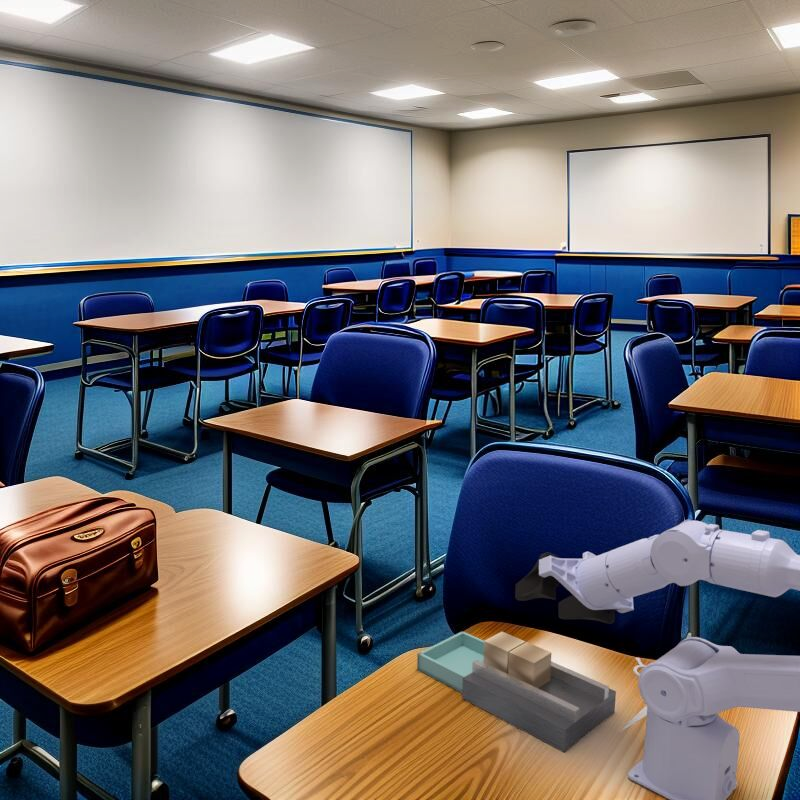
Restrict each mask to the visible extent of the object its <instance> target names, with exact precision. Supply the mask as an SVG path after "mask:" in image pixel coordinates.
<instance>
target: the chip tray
mask: <svg viewBox="0 0 800 800" xmlns="http://www.w3.org/2000/svg"><path fill="white" fill-rule="evenodd" d="M484 641H485V640H484V639H481V638H479V637H476V636H475V635H472V634H470V633H467V632H466V631H460V632H458V633H456V634H454V635H451V636H450V637H448V638H446V639H444V640H442V641H440V642H438V643H436V644H434V645H432V646H430V647H428V648H425V649H424V650H422V651H420V652H417V662H416V663H417V664H416V666H417V667H416V669H417V671H419V672H421V673H423V674H425V675H426V676H429V677H430V678H432V679H434V680H436V681H439V682H440V683H442V684H444V685H446V686H447V687H450V688H452V689H453V690H456V691H457V692H459V693H461V694H462V685H463V677H465V676H467V675H469V674H470V673H472V664H473V662H474V661H476V660H479V661H481V662H483V658H484Z"/></svg>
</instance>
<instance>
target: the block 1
mask: <svg viewBox="0 0 800 800" xmlns="http://www.w3.org/2000/svg"><path fill="white" fill-rule="evenodd" d="M483 641H484V658H483V663H485V664H487V665H490V666H492V667H494V668H496V669H498V670H500V671H502V672H504V673H506V674H508V664H509V652H510V651H512V650H513V649H515V648H517V647H519V646H520V645H522V644H524V643H526V641H525V640H523V639H521V638H518V637H516V636H513V635H511V634H509V633H508V632H507V633H506V632H504V631H500V632H498V633H496V634H494V635H493V636H491V637H489V638H486V639H485V640H483Z"/></svg>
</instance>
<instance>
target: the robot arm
mask: <svg viewBox="0 0 800 800" xmlns="http://www.w3.org/2000/svg"><path fill="white" fill-rule="evenodd" d="M701 580H702V581H706V582H707V583H710V584H714V585H718V586H723V587H726V588H731V589H736V590H740V591H745V592H750V593H754V594H758V595H763V596H768V597H772V598H777V597H780V596H781V595H783V594H784V593H786V592H787V591H789V590H791V589H792V590H794V591H795V590H796V591H800V554H797V553H796V552H795V551H794V550H793V549H792V548H791V546H789V544H788V543H787V542H786V541H785V540H783V539H778V538H774V537H773V538H772V537H771V535H770V532H769V530H761V529H757V530H755V531H753V532H751V534H749V533H744V532H743V533H742V532H738V531H731V530H725V529H720V525H719V524H713V523H709V524H708V523H706V522H704V521H699V520H693V519H692V520H690V519H685V520H683V521H682V522H681V523H679V524H678V525H675V526H674V527H671V528H669V529H667V530H665V531H663V532H662V533H660V534H654V535H652V536H649V537H648V538H647V537H645V538H641V539H638V540H635V541H633V542H630V543H628V544H625V545H622V546H619V547H616V548H614V549H611V550H609V551H607V552H603V553H601V554H598V555H596V554H594V553H593V552H590V551H585V552H583V553H582V558H566V557H565V558H561V557H559V555H556V554H554V553H552V552H549V551H546V552H544V553H542V554H540V555H539V557H538V560H537V561H536V563H535V565H534V566H533V567H532V569H531V570H530V571H529V572H528V573H527V574H526V575H525V576H524V577H523V578H521V580H519V581H518V582H516V584H515V588H514V589H515V591H514V594H515V595H514V597H515V600H517V601H521V602H523V601H530V600H535V599H551V600H553V601H554V600H555V601H557V587H559V586H560V584H561V585H562V586H563V587H564V588H565V589H566V590H567V591H569V592H570V594H572V595H569V596H568V597H565V598H563V599H562V600H560V601H559V602H558V610H557V611H558V618H559V619H561V620H589V621H596V622H601V623H605V624H608V625H611V624H613V623H615V620H616V612H618V613H620V614H625V613H628V612H632V611H634V610H635V608H634V597H638V596H640V595H644V594H648V593H651V592H654V591H657V590H660V589H663V588H665V587H666V586H668V585H670V584H676V585H677V586H680V587H686V586H690V585H692V584H694V583H696V582H698V581H701ZM645 665H646V666H645V667H644V668H641V671H640V673H639V674H640V675H639V677H638V680H637V681H638V684H637V685H638V690H639V694H640V696H641V698H642V700H643V702H644V704H645V705H646V706H647V715H646V716H645V717H646V721H645V730H644V731H645V733H644V744H643V745H644V746H643V747H644V748H643V758H642V759H641V760H640V761H638V762H637V764H635V765H634V766H633V767H632V768H631V769H630V770H629V771H628V772H627V777H628V779H629V780H632V781H633V782H635V783H637V784H639V785H641V786H643V787H645V788H647V789H649V790H651V791H653V792H654V793H656V794H659V795H660V796H662V797H664V798H666V799H668V800H727V799H728V798H729V796H731V794H732V793H733V792H734V791H733V790H736V788H737V787H738V784H739V783H738V781H737V772H738V761H739V760H738V759H739V751H740V740H741V739H740V737H741V736H740V731H739V729H738V728H737V727H736V726H734V725H732V724H731V723H729V722H728V721H726V720H725V719H724V718H723V717H722V716H720V715H719V713H722V712H725V711H728V710H732V709H735V708H748V709H760V710H761V709H762V710H763V709H764V710H772V711H774V710H775V711H783V712H785V711H786V712H796V713H800V655H782V654H781V655H776V654H751V653H750V654H749V653H747V654H746V653H744V654H743V653H740V652H739V651H737V649H736V648H734V647H733V646H730V645H729V646H728V645H720V644H719V645H718V644H716V643H713V642H711V641H709V640H708V639H705V638H702V637H698V636H691V637H690V636H689V637H686V638H685V639H682V640H681V641H680V642H678V644H677V645H676V646H675V647H674V648H672V649H670V650H669V651H668V652H666V653H665V654H664V655H661V657H658V659H656V660H654V661H653V662H649V663H648V664H645ZM736 786H737V787H736ZM735 787H736V788H735ZM732 791H733V792H732Z"/></svg>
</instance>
